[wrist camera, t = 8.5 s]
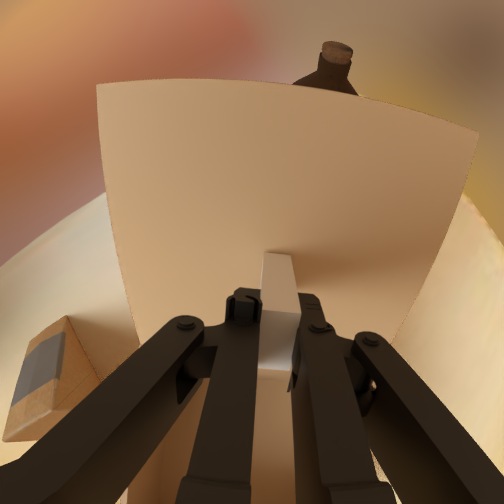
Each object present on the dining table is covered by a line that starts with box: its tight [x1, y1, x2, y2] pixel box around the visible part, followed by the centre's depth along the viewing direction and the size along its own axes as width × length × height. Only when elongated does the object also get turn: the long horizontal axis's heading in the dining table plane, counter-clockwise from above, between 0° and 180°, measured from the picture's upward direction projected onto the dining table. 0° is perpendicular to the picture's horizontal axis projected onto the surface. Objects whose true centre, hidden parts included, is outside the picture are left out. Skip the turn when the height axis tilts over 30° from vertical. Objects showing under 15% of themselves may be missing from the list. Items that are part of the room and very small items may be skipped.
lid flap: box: [97, 78, 480, 364], centre depth 18 cm, size 20×20×1 cm
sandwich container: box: [2, 315, 101, 442], centre depth 27 cm, size 9×15×15 cm, turn 37°
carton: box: [120, 344, 375, 504], centre depth 25 cm, size 20×20×13 cm
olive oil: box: [292, 41, 359, 96], centre depth 36 cm, size 11×11×25 cm
